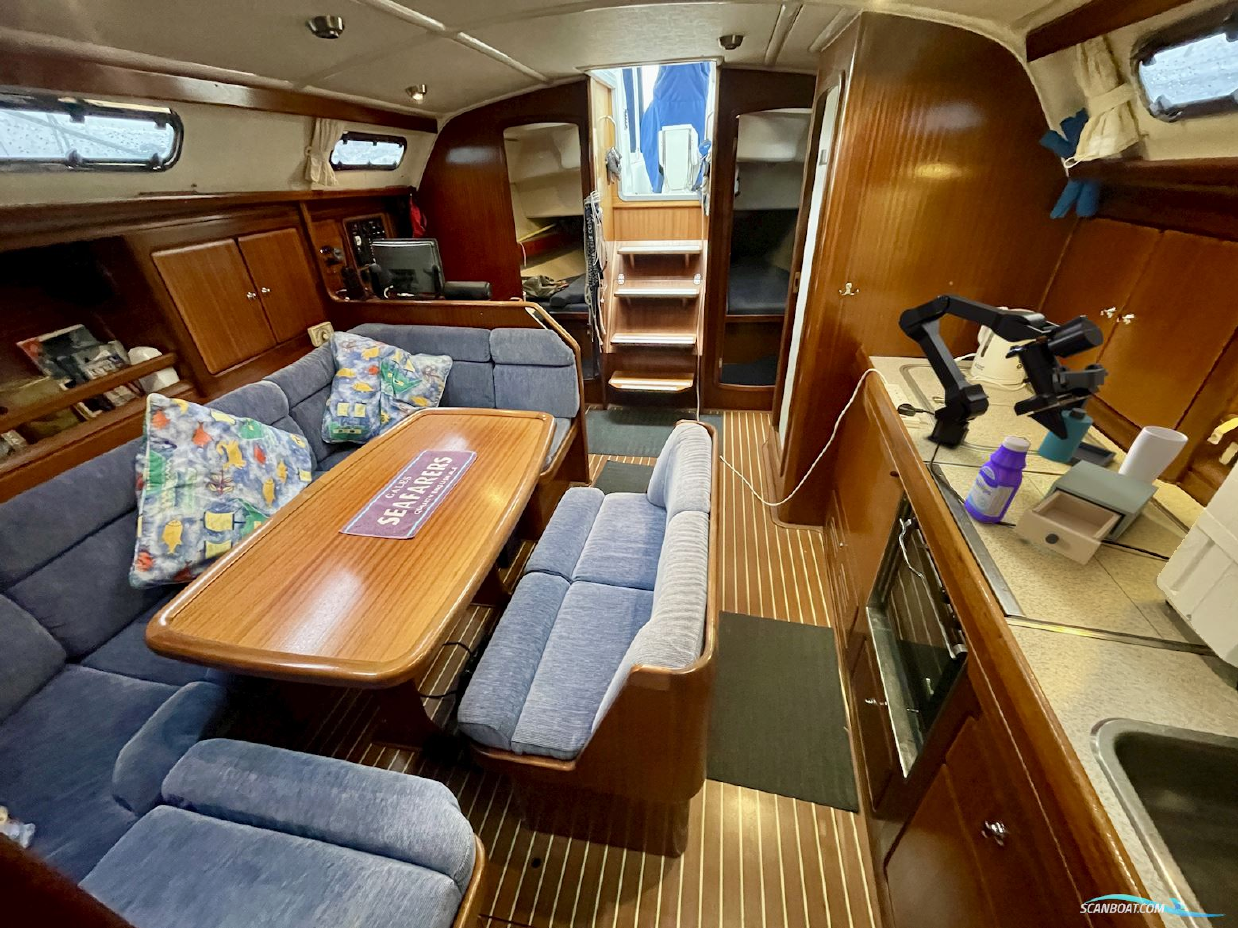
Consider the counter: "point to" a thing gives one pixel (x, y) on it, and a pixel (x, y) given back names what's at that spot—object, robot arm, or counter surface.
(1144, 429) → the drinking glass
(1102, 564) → the counter surface
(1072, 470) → the cabinet
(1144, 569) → the counter surface
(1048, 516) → the drawer
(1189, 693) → the counter surface
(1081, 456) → the tray
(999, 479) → the bottle
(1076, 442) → the soap bottle
